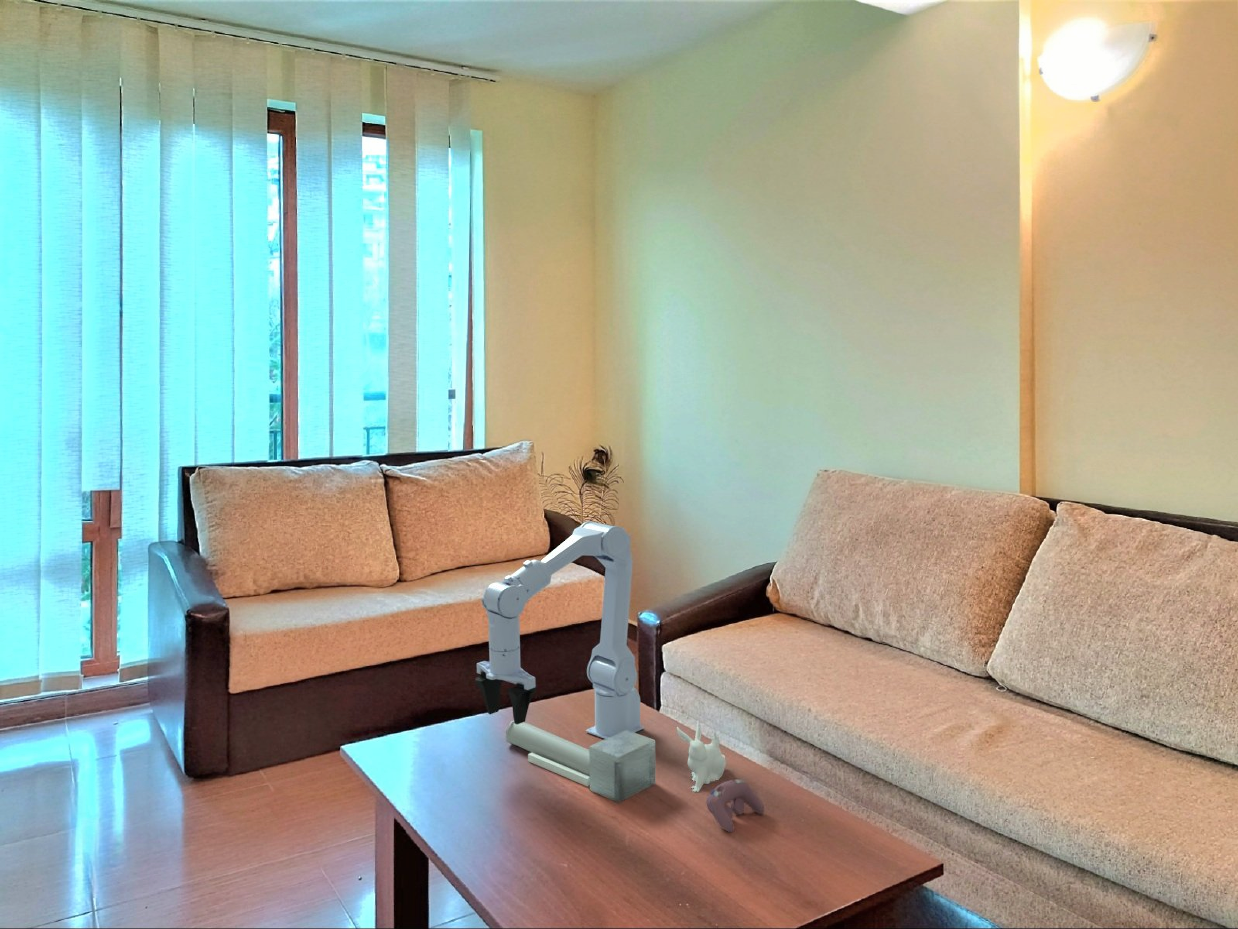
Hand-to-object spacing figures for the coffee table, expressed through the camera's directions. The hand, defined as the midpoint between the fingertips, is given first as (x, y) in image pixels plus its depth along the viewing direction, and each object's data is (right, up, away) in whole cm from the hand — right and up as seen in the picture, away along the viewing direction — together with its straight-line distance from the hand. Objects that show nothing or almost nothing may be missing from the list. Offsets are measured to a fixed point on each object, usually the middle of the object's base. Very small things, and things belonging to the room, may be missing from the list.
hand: (506, 717), depth 169 cm
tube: (+9, -10, +4) cm, 14 cm away
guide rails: (+12, -10, +1) cm, 16 cm away
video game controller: (+40, -12, -19) cm, 46 cm away
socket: (+22, -10, -7) cm, 25 cm away
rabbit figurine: (+36, -10, -3) cm, 38 cm away
